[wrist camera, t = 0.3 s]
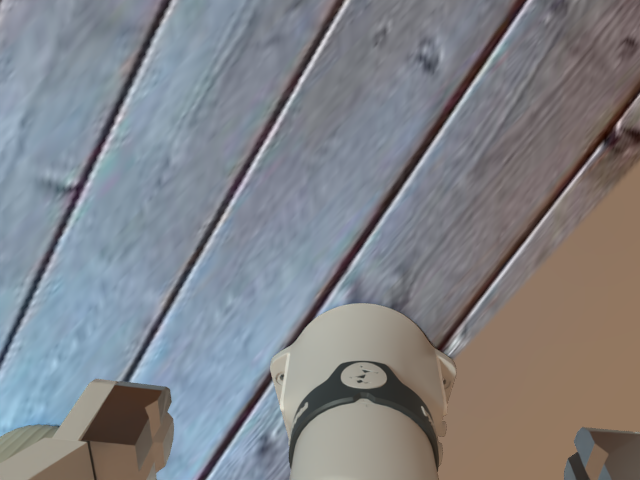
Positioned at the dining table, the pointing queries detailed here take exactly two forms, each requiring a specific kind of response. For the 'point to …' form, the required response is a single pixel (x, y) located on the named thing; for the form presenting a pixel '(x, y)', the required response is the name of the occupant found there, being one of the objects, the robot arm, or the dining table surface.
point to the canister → (23, 439)
